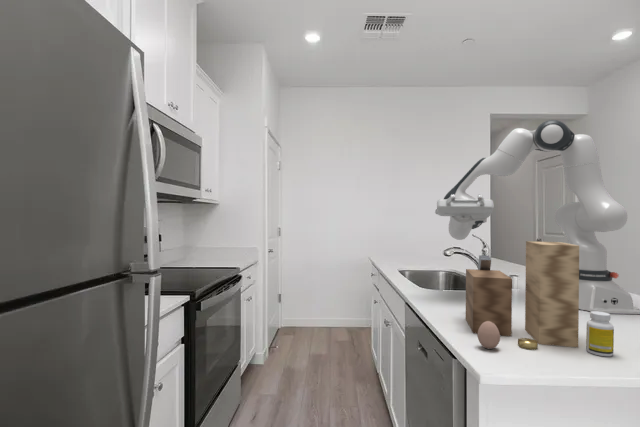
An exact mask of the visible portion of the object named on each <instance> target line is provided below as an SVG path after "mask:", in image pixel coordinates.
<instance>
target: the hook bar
mask: <svg viewBox="0 0 640 427" xmlns="http://www.w3.org/2000/svg"><path fill="white" fill-rule="evenodd" d="M491 264H492V259H491V257H490V255H484V254H483V255H482V254H481V255H480V254H479V255H478V262H477V270H491V267H492V265H491Z"/></svg>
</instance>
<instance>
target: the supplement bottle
mask: <svg viewBox="0 0 640 427" xmlns="http://www.w3.org/2000/svg"><path fill="white" fill-rule="evenodd" d="M589 314H590V317H589V318H591V319H589V320H587V321H586V336H585V337H586V343H585V344H586V348H585V350H586V351H587V352H588V353H590V354H592V355H594V356H595V355H596V356H599V357H612V356H614V350H615V349H614V341H615V340H614V338H615V337H614V333H615V332H614V331H615V326H614V325H613V324H612V323H611V322H610V321H611V313H605V312H598V311H589Z"/></svg>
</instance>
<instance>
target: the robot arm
mask: <svg viewBox="0 0 640 427" xmlns="http://www.w3.org/2000/svg"><path fill="white" fill-rule="evenodd" d="M535 150H536V151H540V152H545V153H547V152H548V153H549V152H555V151H556V152H558V153H559V154H560V156H561V160H562V166H563V173H564V179H565V180H564V181H565V187H566V188H567V190H569V192H572V193H573V194H574V195H575V196H576V198H577V199H578V201H573V202H569V203H564V204H561V205H560V206H558V207H557V209H556V210H555V212H554V221H555V223H556V224H557V226H558V227H560V228H561V229H562V231H563V232H564V235H565V237H566V239H567V242H568V244H573V245H579V310H583V311H588V312H591V311H598V312H605V313H608V314H614V315H615V314H619V315H620V314H621V315H623V314H624V315H640V308H638V307H636V306H634V300H633V297H632V295H631V294H630V293H629V291H627V290H626V289H625V288H623V287H621V286H620V285H618V284H617V283H616V282H614V281H613V279H618V278H619V277H620V276H619V275H620V274H619V273H617V272H615V271H613V272H611V271H609V270H608V269H607V257H608V256H607V254H608V252H607V248H606V247H605V245H604V244H602V243H600V241H599V240H598V239H597V236H596V234H595V233H596V232H597V233H600V232H601V233H607V232H614V231H618V230H621V229H622V228H624V227H625V225H626V224H627V221H628V211H627V210H626V208H625V206H623V205H622V204H621V203H619V202H618V201H616V200H615V199H614V198H613V197H612V196H611V195H610V193H609V192H608V189H607V188H606V186H605V183H604V180H603V176H602V170H601V163H600V156H599V152H598V149H597V146H596V143H595V140H594V139H593V137H592V136H590V135H589V134H583V133H579V134H578V133H577V134H575V133H574V132H573V131H572V130H571V129H570V128H569V127H568V126H567V124H566V123H564V122H563V121H561V120H558V119H549V120H545V121H543V122H542V123H541V124H539V125H538V127H537V128H536V129H534V130H528V129H526V128H522V127H517V128H514V129H513V130H511V131H510V132H509V133H508V134H507V135H506V136H505V137H504V139H503V140H502V141H501V143H500V144H499V146H498V147H497V149H495V151H494V152H493V153H492V154H491V155H489V156H487V157H482V158H480V159H479V160H478V161H477V162H476V163H475V164H474V165H472V167H471V168H470V169H469V170H468V171H467V172H465V174H464V175H463V177H462V178H461V179H460V180H459V181H458V182H457V183H456V184H455V185H454V186H453V187H452V188H451V189H450V190H449V191H448V192H447V193H446V194H445V196H444V197H443V199H437V201H436V209H435V212H434V213H435V215H437V216H439V217H449V222H448V233H449V235H450V236H451V237H452V238H453V239H455V240H459V241H462V240H465V239H466V238H467V237H468V236H469V234H470V233H471V231H472V230H475V229H478V228H479V227H480V226H482V224H486V223H487V219H488V218H489V217H490V216H491V215H492V214H493V211H494V208H495V206H494V205H495V204H494V200H493V199H488V198H487V199H485V198H484V197H483V196H484V195H483V194H477V198H475V197H473V196H472V195H470V194H468V193H467V192H466V191H467V189H469V187H470V186H471V185H472V184H473V183H474V181H476V179H477V178H479V177H481V176H484V175H491V176H496V177H509V176H512V175H513V174H515V173H516V172H517V171H518V170H519V169H520V168H521V167H522V165H523V163H525V161H526V160H527V158H528V156H529V155H530V154H531V153H532V152H533V151H535Z"/></svg>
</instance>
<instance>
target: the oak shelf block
mask: <svg viewBox="0 0 640 427" xmlns="http://www.w3.org/2000/svg"><path fill="white" fill-rule="evenodd" d="M524 299H525V300H524V301H525V304H524V306H525V307H524V310H525V311H524V312H525V313H524V314H525V315H524V318H525V319H524V330H525V331H526V333H528V334H529V335H530V337H531V338H532V339H533V340H536V341H537V342H538V344H539V345H547V346H558V347H566V348H567V347H570V348H579V329H580V328H579V322H580V321H579V317H580V316H579V314H580V309H579V245H573V244H569V243H567V242H561V241H529V240H527V241H525V298H524Z"/></svg>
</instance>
